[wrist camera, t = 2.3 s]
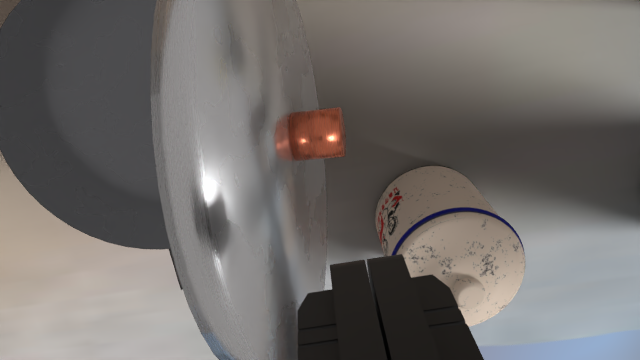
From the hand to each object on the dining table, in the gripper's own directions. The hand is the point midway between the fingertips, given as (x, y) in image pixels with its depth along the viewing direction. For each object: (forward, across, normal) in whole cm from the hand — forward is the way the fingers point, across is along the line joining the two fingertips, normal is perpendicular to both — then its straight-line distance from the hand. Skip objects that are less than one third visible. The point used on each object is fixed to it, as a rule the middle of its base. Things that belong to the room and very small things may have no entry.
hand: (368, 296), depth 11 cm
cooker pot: (+29, +10, 0) cm, 30 cm away
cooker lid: (+10, +3, 0) cm, 11 cm away
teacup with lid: (+29, -7, +15) cm, 33 cm away
